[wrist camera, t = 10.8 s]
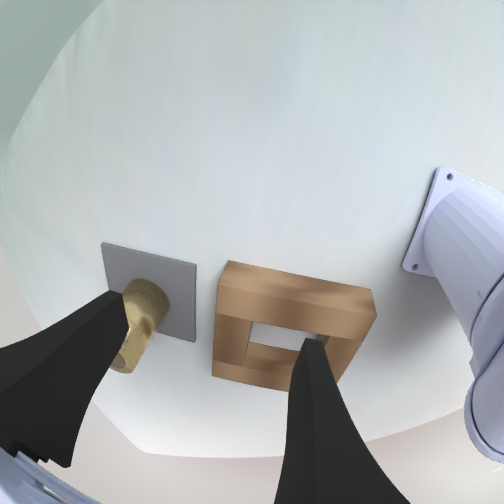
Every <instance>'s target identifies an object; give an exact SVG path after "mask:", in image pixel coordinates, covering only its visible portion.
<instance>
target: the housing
mask: <svg viewBox="0 0 504 504" xmlns="http://www.w3.org/2000/svg"><path fill="white" fill-rule="evenodd" d="M376 317H377V314H376V310H375V305H374V301H373V298H372V294H371V290H370V289H366V288H361V287H356V286H351V285H346V284H341V283H336V282H331V281H326V280H321V279H316V278H311V277H306V276H301V275H296V274H291V273H286V272H282V271H277V270H272V269H267V268H262V267H257V266H253V265H248V264H243V263H238V262H234V261H228V263H227V265H226V267H225V269H224V272H223V274H222V276H221V278H220V280H219V283H218V287H217V301H216V315H215V330H214V346H213V363H212V376H215V377H219V378H223V379H227V380H231V381H235V382H240V383H244V384H249V385H254V386H259V387H264V388H269V389H274V390H280V391H286V392H289V388H290V381H291V375H292V370H293V367H294V365H295V363H296V360H297V358H298V355H299V353H300V352H298V351H292V350H287V349H281V348H276V347H271V346H266V345H261V344H256V343H252V342H249V338H250V333H251V328H252V323H253V321H255V322H260V323H264V324H269V325H274V326H279V327H284V328H289V329H294V330H300V331H305V332H311V333H317V334H318V336H317V339H316V340H320V341H322V342H323V343H324V347H325V351H326V354H327V357H328V361H329V364H330V367H331V370H332V373H333V375H334V378H335V381H336V384H337V382H338V381H339V379H340V378H341V376H342V374H343V373H344V371H345V370H346V368H347V367H348V365H349V363H350V362H351V360H352V359H353V357H354V355H355V354H356V352H357V350H358V349H359V347H360V345H361V343H362V342H363V340H364V338H365V337H366V335H367V333H368V331H369V329H370V328H371V326H372V324H373V322H374V320H375V318H376Z"/></svg>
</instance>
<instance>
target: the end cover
mask: <svg viewBox="0 0 504 504" xmlns="http://www.w3.org/2000/svg"><path fill="white" fill-rule="evenodd" d="M121 294H122V296H123V301H124V306H125V311H126V315H127V320H128V324H129V331H128V333H127V336H126V338H125V340H124V342H123V344H122V347H121V349H120V350H119V352H118V354H117V355H116V357H115V359H114V360H113V362H112V364H111V365H110V368H111V369H113V370H115V371H118V372H121V373H131V372H132V371H133V370H134V368H135V367H136V365H137V363H138V361H139V360H140V358H141V356H142V355H143V353H144V351H145V350H146V348H147V346H148V344H149V343H150V341H151V339H152V338H153V336H154V334H155V333H156V331H157V330H158V328H159V326H160V325H161V323H162V321H163V320H164V318H165V316H166V315H167V313H168V311H169V309H170V304H169V300H168V298H167V296H166V295H165V293H164V292H163V291H162V290H161V289H160V288H159V287H158V286H157V285H156V284H154V283H152V282H150V281H148V280H145V279H134V280H132V281H131V282H130V283H129V284H128V285H127V287H126V288H125V289H124V290H123V291H122V292H121Z"/></svg>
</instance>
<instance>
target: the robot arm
mask: <svg viewBox="0 0 504 504" xmlns="http://www.w3.org/2000/svg"><path fill="white" fill-rule="evenodd" d="M449 173H450V174H451V176H450V178H449V179H447V175H448V174H449ZM415 264H417V265H416V267H413V265H415ZM402 266H403V268H404V270H405V271H407V272H412V273H416V274H420V275H425V276H429V277H434V278H437V279H438V281H439V283H440V285H441V286H442V288H443V290H444V292H445V294H446V296H447V298H448V299H449V301H450V303H451V305H452V307H453V309H454V311H455V313H456V315H457V317H458V319H459V321H460V323H461V325H462V327H463V330H464V332H465V334H466V336H467V338H468V341H469V343H470V345H471V347H472V350H473V356H472V359H471V361H470V363H469V364H470V366H471V369H472V372H473V374H474V377H475V380H474V382H473V383H472V385H471V386H470V388H469V390H468V393H467V396H466V399H465V404H464V418H465V424H466V429H467V431H468V434H469V437H470V439H471V441H472V442H473V444H474V446H475V447H476V448H477V449H478V451H479V452H481V453H482V454H483V455H484V456H485V457H487V458H489V459H491V460H493V461H497V462H500V463H504V194H502V193H500V192H498V191H497V190H495V189H493V188H491V187H489V186H487V185H485V184H483V183H481V182H478V181H476V180H474V179H472V178H470V177H468V176H466V175H463V174H461V173H459V172H456V171H454V170H452V169H449V168H447V167H445V166H440V167H438V168H437V170H436V173H435V177H434V180H433V183H432V186H431V189H430V192H429V196H428V199H427V201H426V204H425V207H424V210H423V213H422V216H421V218H420V221H419V224H418V226H417V229H416V232H415V234H414V237H413V239H412V242H411V244H410V247H409V249H408V251H407V254H406V256H405V258H404V261H403V264H402ZM128 331H129V324H128V320H127V315H126V311H125V306H124V301H123V296H122V294H121V293H118V292H115V291H112V290H109V291H107V292H105V293H104V294H102V295H100V296H99V297H97V298H96V299H94V300H92V301H91V302H89V303H88V304H86V305H85V306H83V307H81V308H80V309H78V310H77V311H75V312H73V313H72V314H70V315H69V316H67V317H65V318H64V319H62V320H60V321H59V322H57V323H55V324H53V325H52V326H50V327H48V328H46V329H45V330H43V331H41V332H39V333H37V334H35V335H33V336H30V337H29V338H26V339H24V340H21V341H19V342H16V343H14V344H11V345H9V346H6V347H3V348H0V504H71V503H72V504H102V503H100V502H98V501H96V500H94V499H92V498H91V497H89V496H87V495H85V494H83V493H81V492H80V491H78V490H76V489H75V488H73V487H71V486H70V485H68V484H67V483H65V482H63V481H62V480H60V479H59V478H57V477H56V476H54V475H53V474H51V473H49V472H48V471H47V470H45V469H44V468H43V467H41V466H40V465H39V464H37V462H38V460H39V459H41V460H42V461H43V462H45V463H47V462H48V460H49V459H51V460H52V461H54V462H56V463H57V464H58V465H60V466H61V467H63V468H67V467H70V466H71V461H72V456H73V451H74V446H75V443H76V439H77V436H78V432H79V429H80V426H81V423H82V421H83V418H84V415H85V412H86V410H87V408H88V405H89V403H90V400H91V398H92V396H93V394H94V392H95V390H96V388H97V387H98V385H99V383H100V382H101V380H102V378H103V377H104V375H105V373H106V372H107V370H108V368H109V367H110V365H111V364H112V362H113V360H114V359H115V357H116V355H117V354H118V352H119V350H120V349H121V347H122V344H123V342H124V340H125V338H126V336H127V333H128ZM43 485H44V486H46V487H47V488H49V489H50V490H52V491H53V492H55V493H56V494H58V495H59V496H61V497H62V498H61V497H59V496H58V495H55V494H54V493H52V492H50V491H48V490H46V489H44V486H43ZM63 498H64V499H63ZM66 500H67V501H66ZM69 502H70V503H69ZM274 504H410V502H409V501H408V500H407V499H406V498H405V497H404V496H403V495H402V494H401V493H400V492H399V490H398V489H397V488H396V487H395V486H394V485H393V484H392V482H391V481H390V480H389V478H388V477H387V476H386V475H385V473H384V472H383V471H382V469H381V468H380V466H379V465H378V463H377V462H376V460H375V459H374V457H373V456H372V455H371V453H370V452H369V450H368V448H367V447H366V445H365V443H364V442H363V440H362V438H361V436H360V434H359V433H358V431H357V429H356V427H355V425H354V423H353V421H352V419H351V417H350V415H349V413H348V410H347V408H346V406H345V404H344V401H343V399H342V396H341V394H340V391H339V389H338V386H337V384H336V381H335V378H334V375H333V373H332V370H331V367H330V364H329V361H328V357H327V354H326V351H325V347H324V343H323V342H322V341H320V340H314V339H308V338H305V341H304V343H303V346H302V348H301V351H300V353H299V355H298V358H297V360H296V363H295V365H294V367H293V370H292V375H291V381H290V388H289V395H288V414H287V433H286V447H285V455H284V460H283V465H282V470H281V475H280V480H279V484H278V489H277V493H276V497H275V501H274Z"/></svg>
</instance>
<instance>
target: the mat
mask: <svg viewBox="0 0 504 504" xmlns="http://www.w3.org/2000/svg"><path fill="white" fill-rule="evenodd" d="M101 249H102V255H103V261H104V267H105V272H106V277H107V282H108V287H109V290H112V291H115V292H118V293H121V292H122V291H123V290H124V289H125V288H126V287H127V285H128V284H129V283H130V282H131V281H132V280H134V279H145V280H148V281H150V282H152V283H154V284H156V285H157V286H158V287H159V288H160V289H161V290H162V291H163V292H164V293H165V295H166V296H167V298H168V300H169V304H170V309H169V311H168V313H167V315H166V316H165V318H164V320H163V321H162V323H161V325H160V326H159V328H158V330H157V331H156V332H159V333H163V334H166V335H169V336H173V337H176V338H180V339H183V340H187V341H190V342H194V343H195V340H196V264H192V263H188V262H184V261H179V260H175V259H171V258H166V257H162V256H158V255H153V254H149V253H145V252H141V251H137V250H133V249H128V248H124V247H120V246H116V245H112V244H108V243H104V242H103V243H102V244H101Z"/></svg>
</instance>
